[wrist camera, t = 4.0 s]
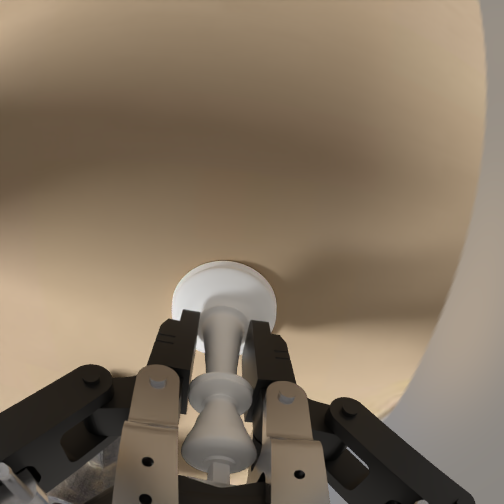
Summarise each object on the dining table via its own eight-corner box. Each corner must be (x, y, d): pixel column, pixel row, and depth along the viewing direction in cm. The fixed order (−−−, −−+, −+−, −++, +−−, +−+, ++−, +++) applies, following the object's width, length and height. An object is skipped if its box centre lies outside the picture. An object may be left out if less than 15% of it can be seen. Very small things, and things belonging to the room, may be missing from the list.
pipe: (155, 386, 16) (127, 504, 8) (141, 471, 20) (128, 544, 12) (63, 353, 15) (6, 451, 7) (78, 450, 19) (54, 518, 11)
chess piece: (193, 243, 13) (122, 452, 3) (294, 284, 14) (371, 486, 4) (160, 329, 14) (105, 516, 5) (249, 360, 15) (265, 544, 6)
